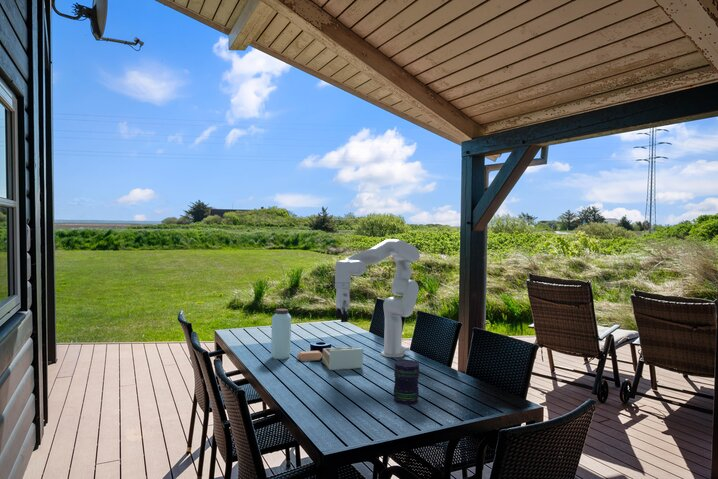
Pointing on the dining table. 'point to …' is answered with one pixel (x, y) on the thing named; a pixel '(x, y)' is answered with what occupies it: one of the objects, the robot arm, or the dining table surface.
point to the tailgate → (346, 358)
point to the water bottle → (281, 334)
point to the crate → (327, 356)
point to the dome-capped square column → (309, 355)
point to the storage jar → (406, 382)
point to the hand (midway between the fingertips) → (341, 320)
